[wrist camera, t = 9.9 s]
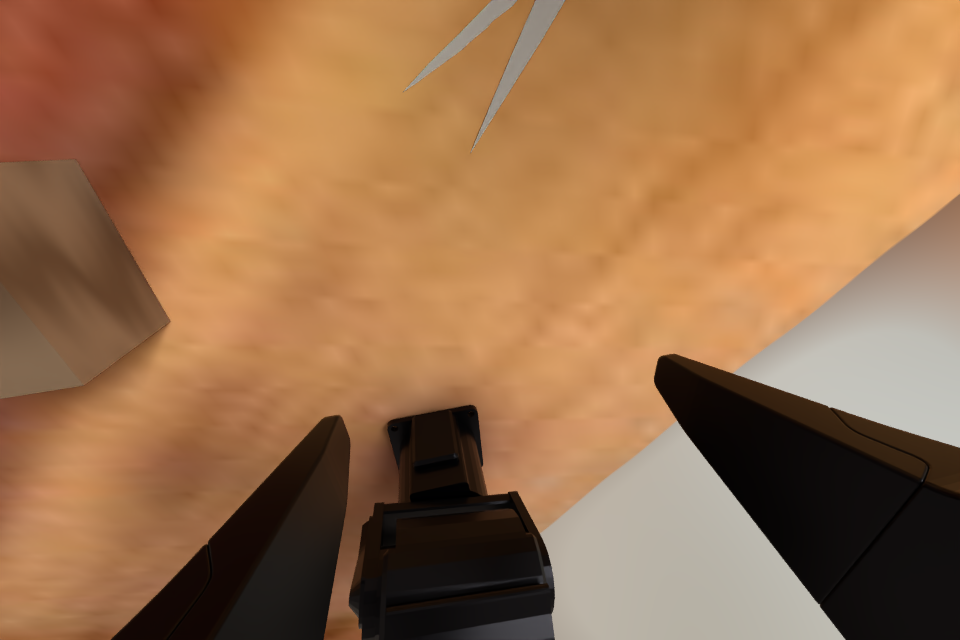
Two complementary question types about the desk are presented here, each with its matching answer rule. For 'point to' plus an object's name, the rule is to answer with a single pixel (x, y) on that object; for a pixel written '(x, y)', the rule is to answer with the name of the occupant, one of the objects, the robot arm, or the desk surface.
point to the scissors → (528, 41)
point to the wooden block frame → (64, 282)
